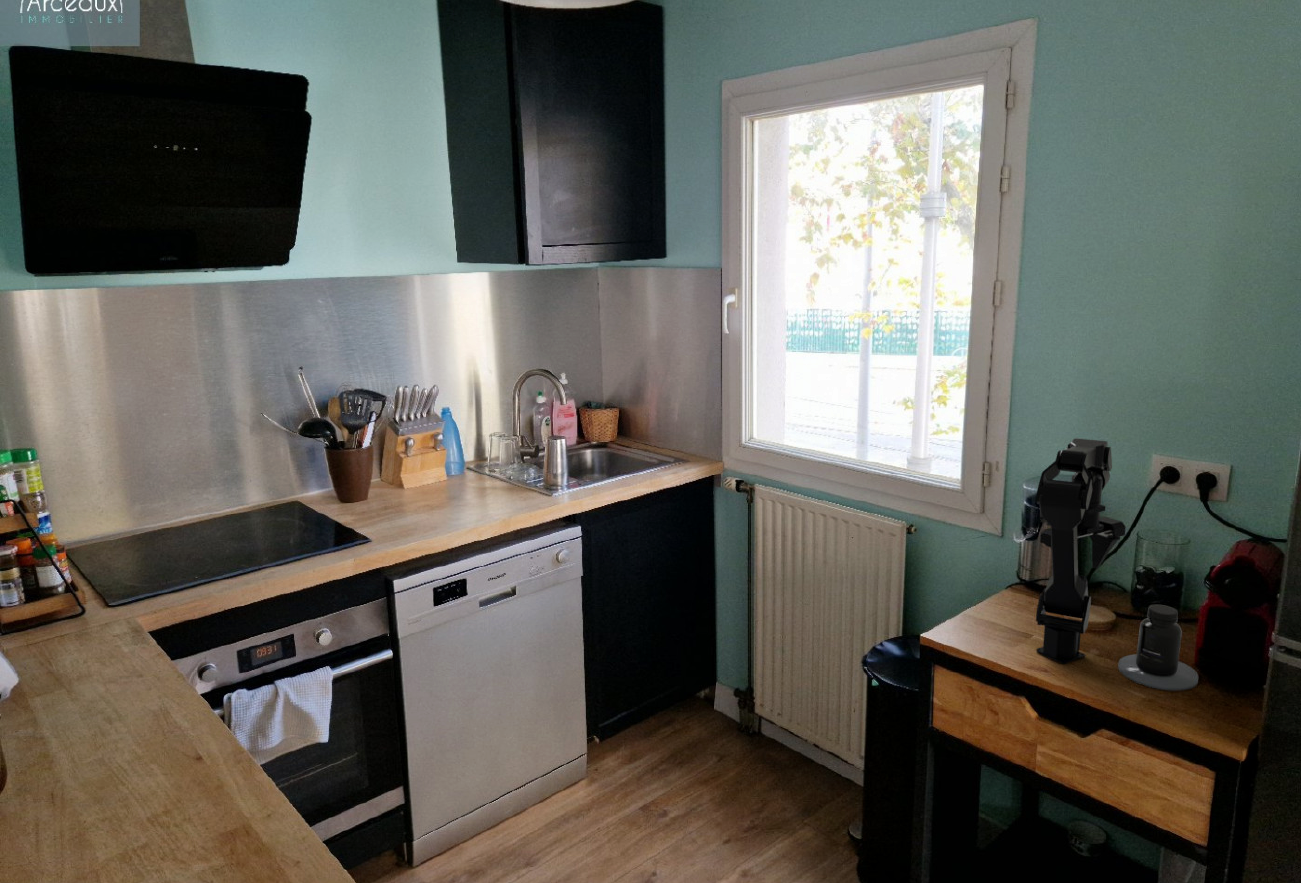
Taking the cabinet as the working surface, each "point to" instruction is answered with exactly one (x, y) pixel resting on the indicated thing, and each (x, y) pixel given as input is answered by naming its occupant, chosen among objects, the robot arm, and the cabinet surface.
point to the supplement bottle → (1159, 641)
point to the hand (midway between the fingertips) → (1079, 571)
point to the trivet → (1176, 682)
